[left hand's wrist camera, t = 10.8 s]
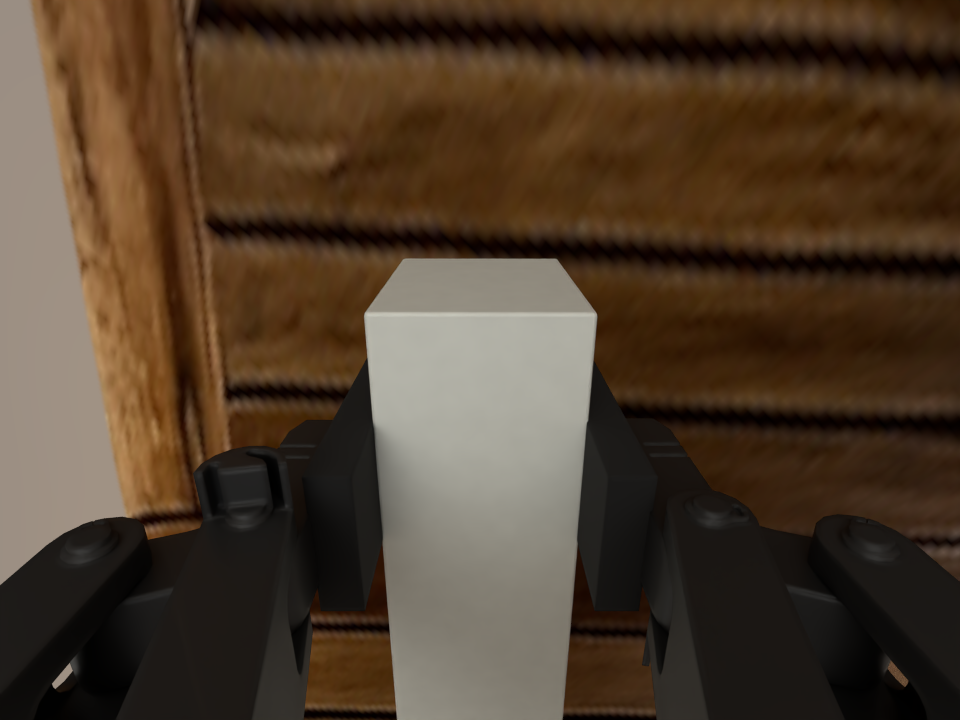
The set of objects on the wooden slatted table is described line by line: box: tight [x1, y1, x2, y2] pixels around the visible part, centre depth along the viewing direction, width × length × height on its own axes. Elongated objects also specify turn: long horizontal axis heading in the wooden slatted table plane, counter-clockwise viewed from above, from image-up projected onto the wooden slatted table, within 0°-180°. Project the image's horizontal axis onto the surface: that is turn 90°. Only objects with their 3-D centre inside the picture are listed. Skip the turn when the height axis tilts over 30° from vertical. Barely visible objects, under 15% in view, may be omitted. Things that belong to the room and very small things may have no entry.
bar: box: [364, 259, 597, 720], centre depth 16 cm, size 4×24×5 cm, turn 0°
